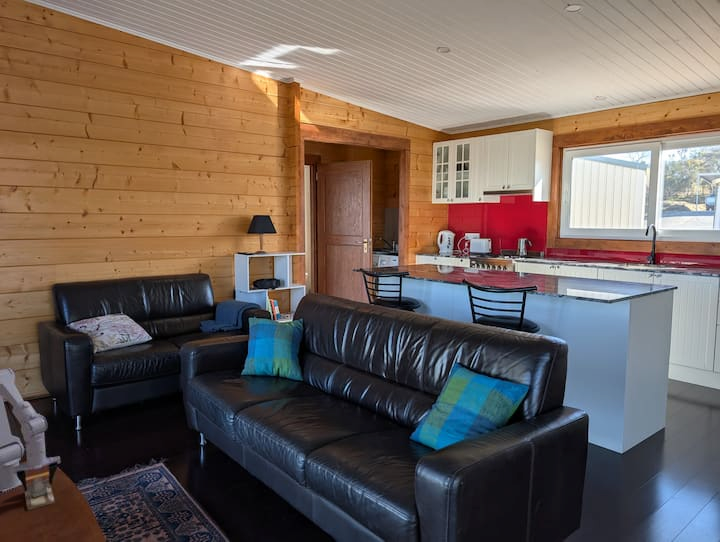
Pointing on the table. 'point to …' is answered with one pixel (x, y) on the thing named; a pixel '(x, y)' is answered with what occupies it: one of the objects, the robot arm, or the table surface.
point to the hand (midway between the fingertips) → (38, 486)
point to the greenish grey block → (38, 487)
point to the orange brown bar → (31, 478)
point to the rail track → (40, 500)
